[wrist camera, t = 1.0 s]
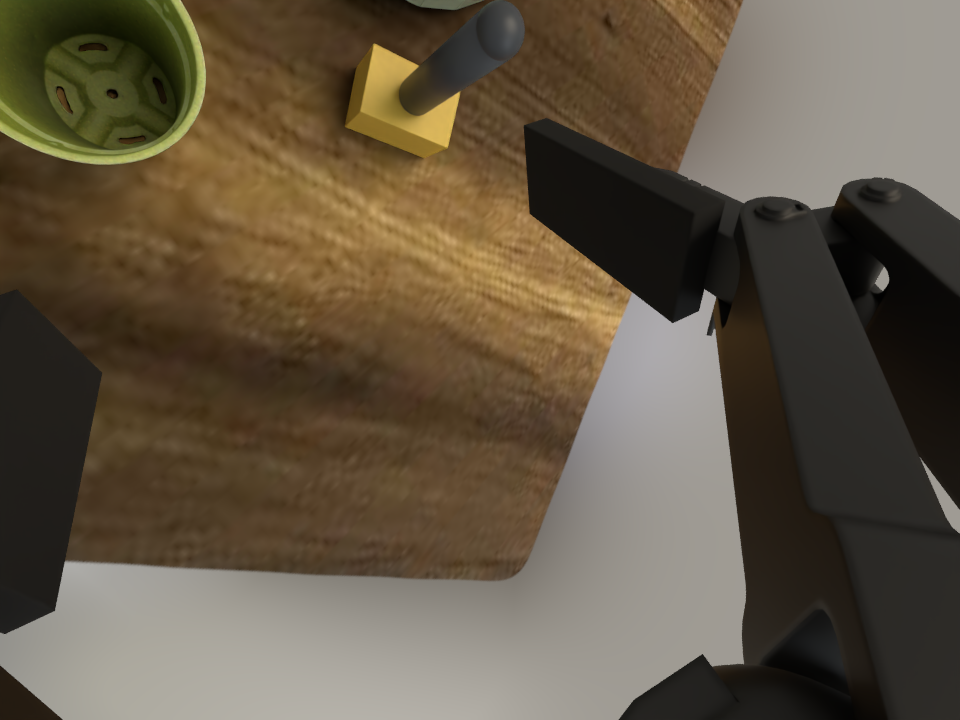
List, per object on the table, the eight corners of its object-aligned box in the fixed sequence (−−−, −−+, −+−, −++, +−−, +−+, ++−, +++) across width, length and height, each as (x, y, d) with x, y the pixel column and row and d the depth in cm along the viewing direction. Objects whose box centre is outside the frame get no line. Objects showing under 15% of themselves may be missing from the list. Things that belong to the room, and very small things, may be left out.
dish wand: (344, 126, 32) (435, 37, 18) (356, 66, 32) (459, -75, 18) (424, 158, 35) (556, 102, 21) (436, 103, 35) (580, 8, 21)
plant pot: (168, -9, 27) (144, -105, 19) (237, 165, 30) (238, 141, 23) (-39, 5, 23) (-166, -104, 16) (64, 200, 27) (0, 185, 19)
